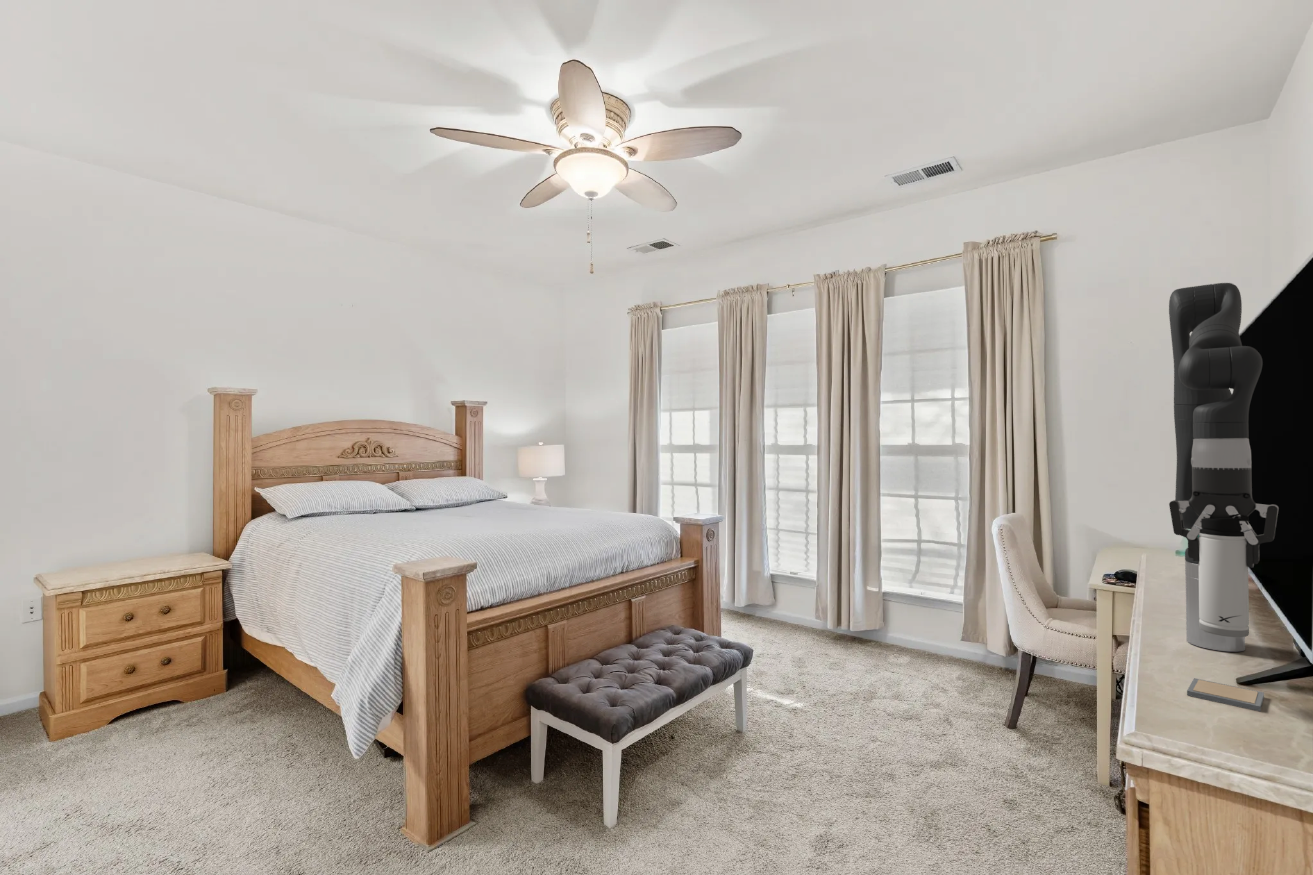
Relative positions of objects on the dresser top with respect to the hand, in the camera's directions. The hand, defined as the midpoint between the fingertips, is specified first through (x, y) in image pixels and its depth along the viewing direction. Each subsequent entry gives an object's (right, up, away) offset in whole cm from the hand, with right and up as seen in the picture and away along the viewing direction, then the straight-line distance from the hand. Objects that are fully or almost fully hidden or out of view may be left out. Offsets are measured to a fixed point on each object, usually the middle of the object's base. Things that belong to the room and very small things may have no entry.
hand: (1222, 563), depth 106 cm
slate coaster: (0, -22, 0) cm, 22 cm away
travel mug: (0, -12, 0) cm, 12 cm away
